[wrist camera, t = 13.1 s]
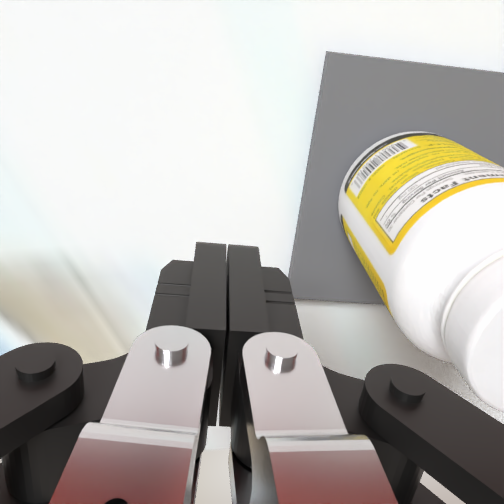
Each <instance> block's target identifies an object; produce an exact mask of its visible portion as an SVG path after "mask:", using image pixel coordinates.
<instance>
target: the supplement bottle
mask: <svg viewBox="0 0 504 504" xmlns="http://www.w3.org/2000/svg"><path fill="white" fill-rule="evenodd" d="M338 210H339V218H340V222H341V225H342V228H343V230H344V232H345V234H346V236H347V238H348V240H349V242H350V244H351V246H352V247H353V249H354V251H355V252H356V254H357V256H358V258H359V260H360V261H361V263H362V265H363V267H364V268H365V270H366V272H367V273H368V275H369V277H370V279H371V280H372V282H373V284H374V286H375V287H376V289H377V291H378V293H379V294H380V296H381V298H382V300H383V301H384V303H385V305H386V307H387V309H388V310H389V312H390V314H391V316H392V317H393V319H394V320H395V322H396V323H397V325H398V326H399V328H400V329H401V331H402V332H403V334H404V335H405V336H406V337H407V338H408V339H409V340H410V342H412V343H413V344H414V345H415V346H416V347H417V348H419V349H420V350H422V351H423V352H425V353H427V354H428V355H430V356H432V357H434V358H437V359H439V360H442V361H445V362H449V363H453V364H454V366H455V367H456V369H457V370H458V371H459V373H460V374H461V376H462V377H463V378H464V380H465V381H466V383H467V384H468V386H469V387H470V388H471V390H472V391H473V392H474V394H475V395H476V396H477V397H478V398H479V399H480V400H482V401H483V402H484V403H486V404H487V405H489V406H490V407H492V408H494V409H496V410H499V411H502V412H504V168H503V167H501V166H499V165H497V164H496V163H494V162H492V161H490V160H488V159H486V158H484V157H482V156H480V155H479V154H477V153H475V152H473V151H471V150H469V149H467V148H466V147H464V146H462V145H460V144H458V143H456V142H454V141H452V140H450V139H448V138H445V137H443V136H440V135H437V134H434V133H429V132H422V131H411V132H403V133H398V134H394V135H391V136H389V137H386V138H384V139H382V140H380V141H378V142H376V143H375V144H373V145H372V146H370V147H369V148H368V149H366V150H365V151H364V152H363V153H362V154H361V155H360V156H359V157H358V158H357V159H356V160H355V162H354V163H353V164H352V166H351V167H350V169H349V170H348V172H347V174H346V176H345V178H344V180H343V183H342V186H341V189H340V193H339V201H338Z"/></svg>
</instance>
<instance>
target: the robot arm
mask: <svg viewBox="0 0 504 504" xmlns="http://www.w3.org/2000/svg"><path fill="white" fill-rule="evenodd" d="M219 392H220V407H219V426H227V427H231V443H230V451H229V462H228V463H229V474H230V485H231V496H232V504H446V503H444V502H443V501H442V500H441V499H439V498H438V497H437V496H436V495H435V494H433V493H432V492H431V491H430V490H428V489H427V488H426V487H425V486H424V485H422V484H421V483H420V479H421V477H422V474H423V472H424V471H425V472H426V473H428V474H429V475H430V476H432V477H433V478H434V479H435V480H437V481H438V482H439V483H441V484H442V485H443V486H444V487H445V488H447V489H448V490H449V491H451V492H452V493H453V494H454V495H456V496H457V497H458V498H459V499H461V500H462V501H463V502H464V503H466V504H504V424H502V423H500V422H499V421H497V420H496V419H494V418H493V417H491V416H490V415H488V414H486V413H485V412H483V411H482V410H480V409H479V408H477V407H476V406H474V405H472V404H471V403H469V402H468V401H466V400H465V399H463V398H462V397H460V396H458V395H457V394H455V393H454V392H452V391H451V390H449V389H448V388H446V387H444V386H443V385H441V384H440V383H438V382H437V381H435V380H434V379H432V378H430V377H429V376H427V375H426V374H424V373H422V372H420V371H418V370H416V369H413V368H410V367H407V366H403V365H397V364H384V365H379V366H376V367H374V368H372V369H371V370H370V371H369V372H368V373H367V375H366V378H365V381H364V380H360V379H357V378H353V377H350V376H346V375H343V374H340V373H337V372H334V371H332V370H330V369H328V368H326V367H324V366H322V364H321V362H320V359H319V356H318V354H317V352H316V351H315V349H314V348H313V347H312V346H311V345H310V344H309V343H307V342H306V341H304V340H303V336H302V331H301V327H300V323H299V318H298V314H297V310H296V306H295V301H294V297H293V294H292V289H291V284H290V280H289V279H288V278H287V276H286V275H285V274H284V273H283V272H282V271H281V270H280V269H279V268H272V267H261V262H260V255H259V248H258V247H255V246H243V245H230V244H229V245H228V251H227V261H226V244H217V243H205V242H196V249H195V257H194V262H193V261H180V260H172V261H171V262H170V263H169V264H167V265H166V266H165V267H164V268H163V269H162V270H161V272H160V276H159V280H158V285H157V288H156V292H155V296H154V300H153V304H152V308H151V312H150V316H149V320H148V324H147V328H146V331H145V332H143V333H142V334H140V335H139V336H138V337H137V338H136V339H135V340H134V342H133V344H132V346H131V348H130V351H129V353H127V354H125V355H123V356H120V357H118V358H115V359H111V360H106V361H101V362H95V363H89V364H83V361H82V359H81V356H80V355H79V354H78V353H77V352H76V351H75V350H74V349H72V348H70V347H68V346H66V345H63V344H58V343H34V344H29V345H25V346H22V347H19V348H16V349H14V350H11V351H9V352H7V353H5V354H3V355H1V356H0V459H1V458H2V463H0V504H195V498H196V491H197V484H198V477H199V470H200V463H201V453H202V452H203V450H204V448H205V445H206V438H207V428H208V426H216V420H217V410H218V401H219Z"/></svg>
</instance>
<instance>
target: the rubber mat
mask: <svg viewBox="0 0 504 504" xmlns="http://www.w3.org/2000/svg"><path fill="white" fill-rule="evenodd" d="M411 131H422V132H429V133H434V134H437V135H440V136H443V137H445V138H448V139H450V140H452V141H454V142H456V143H458V144H460V145H462V146H464V147H466V148H467V149H469V150H471V151H473V152H475V153H477V154H479V155H480V156H482V157H484V158H486V159H488V160H490V161H492V162H494V163H496V164H497V165H499V166H501V167H503V168H504V73H502V72H493V71H485V70H477V69H469V68H460V67H452V66H444V65H436V64H427V63H419V62H411V61H403V60H394V59H386V58H378V57H370V56H361V55H353V54H345V53H337V52H328V51H326V56H325V62H324V68H323V74H322V80H321V86H320V92H319V98H318V104H317V109H316V115H315V121H314V127H313V133H312V139H311V145H310V151H309V157H308V163H307V169H306V175H305V181H304V187H303V192H302V198H301V204H300V210H299V216H298V222H297V228H296V234H295V240H294V246H293V252H292V258H291V264H290V269H289V275H288V279H289V280H290V284H291V289H292V294H293V297H294V298H297V299H312V300H326V301H340V302H354V303H369V304H383V305H385V303H384V301H383V300H382V298H381V296H380V294H379V293H378V291H377V289H376V287H375V286H374V284H373V282H372V280H371V279H370V277H369V275H368V273H367V272H366V270H365V268H364V267H363V265H362V263H361V261H360V260H359V258H358V256H357V254H356V252H355V251H354V249H353V247H352V246H351V244H350V242H349V240H348V238H347V236H346V234H345V232H344V230H343V228H342V225H341V222H340V218H339V210H338V201H339V193H340V189H341V186H342V183H343V180H344V178H345V176H346V174H347V172H348V170H349V169H350V167H351V166H352V164H353V163H354V162H355V160H356V159H357V158H358V157H359V156H360V155H361V154H362V153H363V152H364V151H365V150H366V149H368V148H369V147H370V146H372V145H373V144H375V143H376V142H378V141H380V140H382V139H384V138H386V137H389V136H391V135H394V134H398V133H403V132H411Z"/></svg>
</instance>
